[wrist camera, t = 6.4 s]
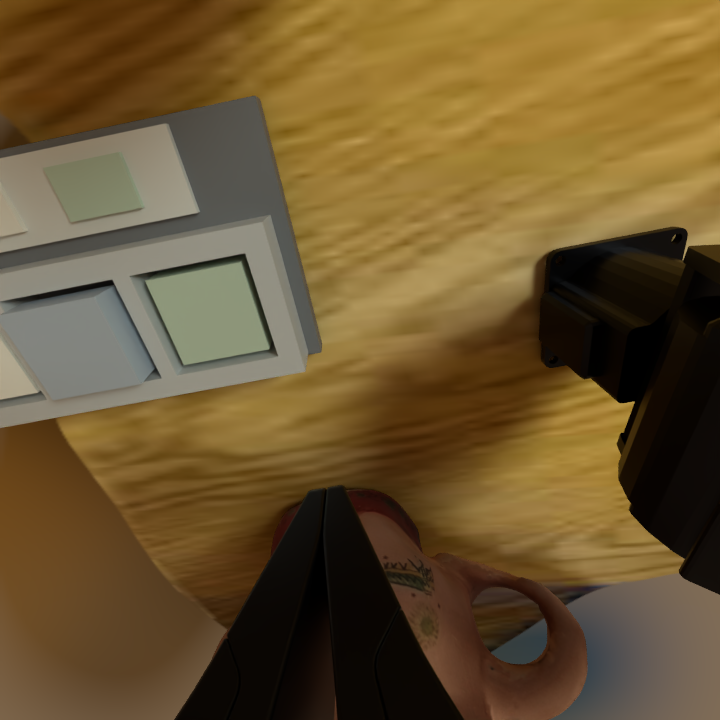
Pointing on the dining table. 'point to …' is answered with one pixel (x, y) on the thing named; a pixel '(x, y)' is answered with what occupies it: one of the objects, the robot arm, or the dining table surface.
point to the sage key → (211, 309)
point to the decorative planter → (468, 621)
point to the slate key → (79, 342)
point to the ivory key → (13, 374)
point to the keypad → (153, 239)
